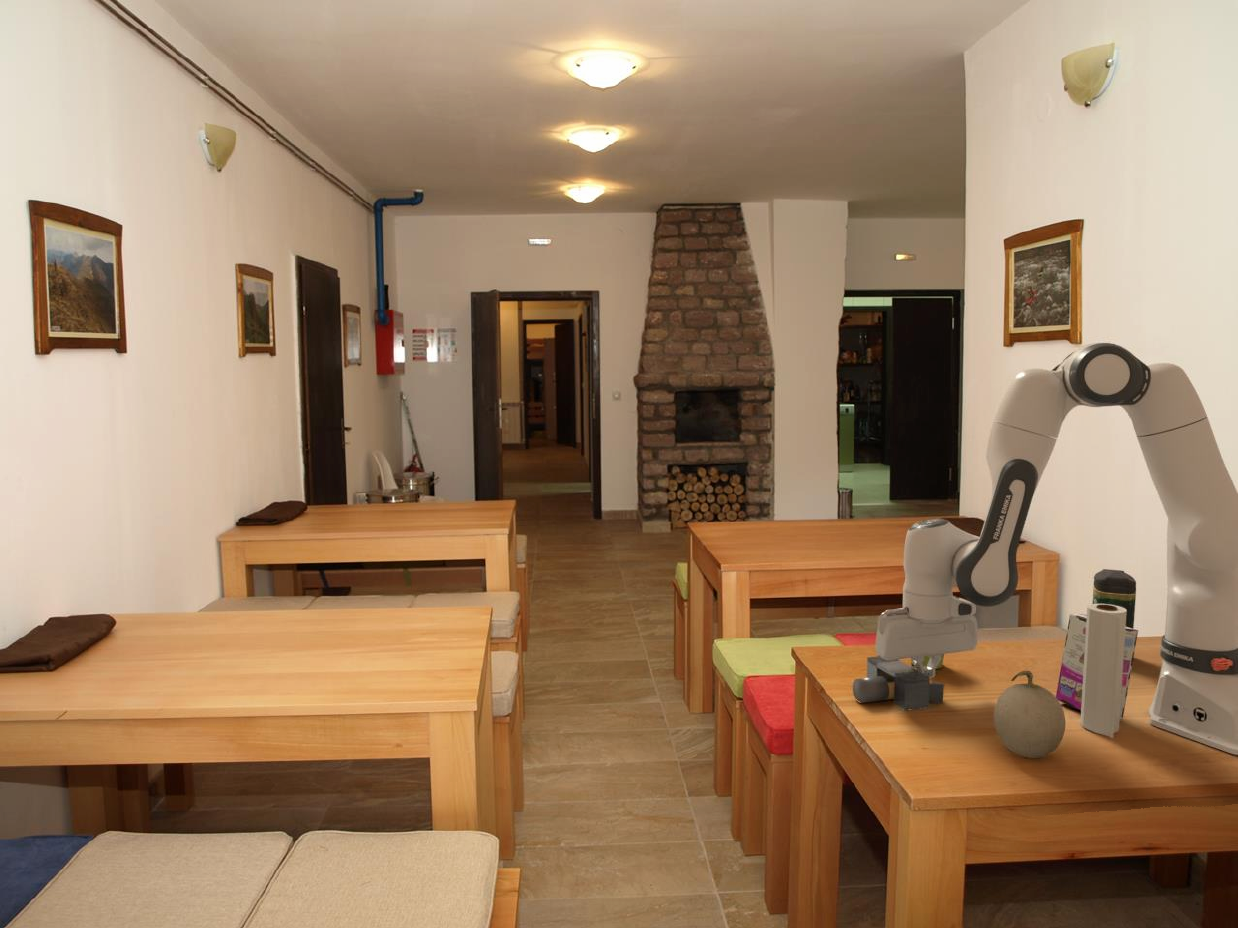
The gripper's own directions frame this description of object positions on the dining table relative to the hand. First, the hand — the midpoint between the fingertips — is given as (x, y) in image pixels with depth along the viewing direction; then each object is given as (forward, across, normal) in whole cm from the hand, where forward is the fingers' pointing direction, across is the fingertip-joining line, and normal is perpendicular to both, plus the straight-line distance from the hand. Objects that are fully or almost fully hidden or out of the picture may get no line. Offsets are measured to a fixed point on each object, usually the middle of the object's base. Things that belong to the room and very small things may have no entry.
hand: (925, 676), depth 181 cm
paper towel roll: (+4, +19, -23) cm, 30 cm away
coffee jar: (+4, +50, +7) cm, 51 cm away
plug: (+3, -8, 0) cm, 9 cm away
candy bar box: (+4, +23, -16) cm, 28 cm away
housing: (+3, -4, 0) cm, 5 cm away
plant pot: (+4, +10, +14) cm, 18 cm away
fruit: (+4, 0, -28) cm, 28 cm away
